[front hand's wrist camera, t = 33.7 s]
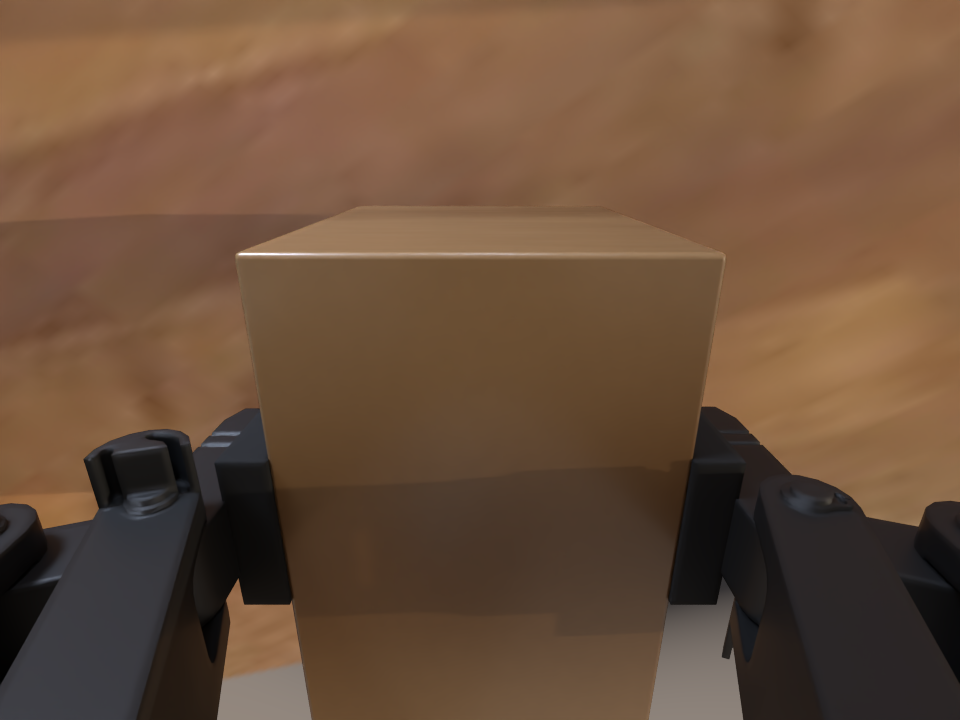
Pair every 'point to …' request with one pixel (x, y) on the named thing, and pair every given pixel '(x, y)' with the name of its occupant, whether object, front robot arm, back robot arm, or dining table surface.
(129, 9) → the dining table surface
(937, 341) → the dining table surface
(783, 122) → the dining table surface
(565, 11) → the dining table surface
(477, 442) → the block
